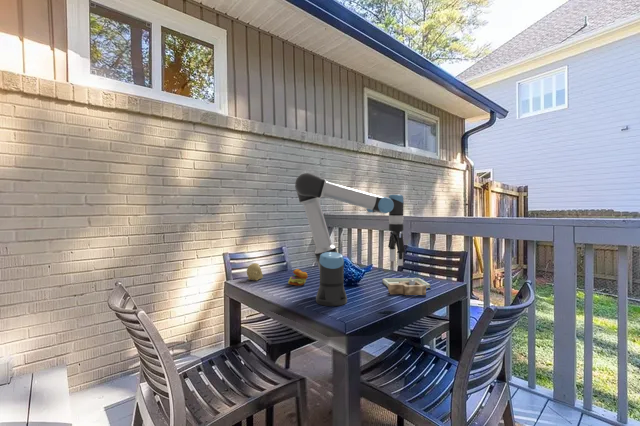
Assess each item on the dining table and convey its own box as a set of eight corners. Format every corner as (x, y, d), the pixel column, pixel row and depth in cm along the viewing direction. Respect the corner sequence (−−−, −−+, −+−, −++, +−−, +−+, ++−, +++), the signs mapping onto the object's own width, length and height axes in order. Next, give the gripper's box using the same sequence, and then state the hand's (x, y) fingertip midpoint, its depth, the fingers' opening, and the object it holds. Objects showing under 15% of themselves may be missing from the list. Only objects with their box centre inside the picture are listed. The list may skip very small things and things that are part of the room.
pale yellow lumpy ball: (262, 286, 204) (267, 272, 212) (257, 274, 196) (262, 260, 204) (247, 284, 207) (253, 271, 214) (242, 273, 199) (248, 259, 206)
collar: (392, 296, 168) (392, 286, 168) (386, 290, 179) (386, 281, 179) (426, 295, 170) (426, 286, 169) (418, 290, 181) (418, 281, 180)
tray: (390, 289, 181) (390, 285, 181) (382, 282, 198) (382, 278, 198) (430, 289, 183) (430, 284, 183) (419, 282, 200) (419, 278, 200)
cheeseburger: (287, 282, 198) (291, 266, 199) (304, 286, 199) (308, 270, 200) (287, 286, 188) (291, 269, 188) (305, 290, 189) (309, 273, 190)
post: (409, 294, 172) (409, 281, 172) (405, 291, 177) (405, 279, 177) (418, 294, 172) (418, 281, 172) (414, 291, 177) (414, 278, 177)
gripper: (411, 224, 161) (411, 267, 162) (395, 222, 186) (395, 259, 186) (396, 224, 161) (396, 267, 161) (382, 222, 185) (382, 259, 186)
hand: (396, 263), depth 174 cm, fingers open, 13 cm apart
